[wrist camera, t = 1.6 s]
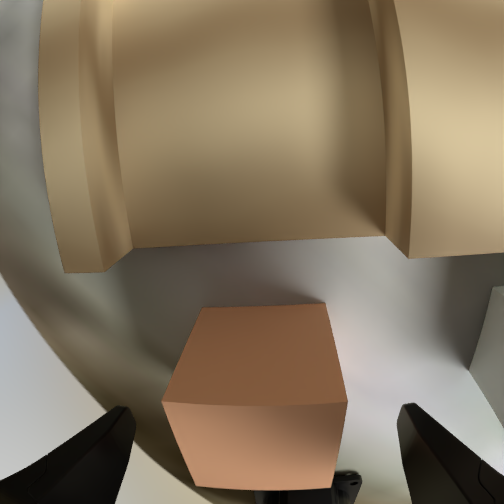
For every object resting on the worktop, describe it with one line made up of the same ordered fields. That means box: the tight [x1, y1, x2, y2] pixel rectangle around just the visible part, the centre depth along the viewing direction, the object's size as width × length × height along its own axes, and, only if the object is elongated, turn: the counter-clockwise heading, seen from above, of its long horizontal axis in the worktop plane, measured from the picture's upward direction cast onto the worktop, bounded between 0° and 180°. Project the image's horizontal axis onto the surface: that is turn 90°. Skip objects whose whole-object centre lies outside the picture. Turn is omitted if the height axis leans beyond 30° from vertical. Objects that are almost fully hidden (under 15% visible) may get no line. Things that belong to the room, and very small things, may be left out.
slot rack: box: [38, 0, 504, 273], centre depth 7 cm, size 12×23×3 cm, turn 95°
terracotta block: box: [161, 303, 348, 490], centre depth 10 cm, size 4×4×5 cm
